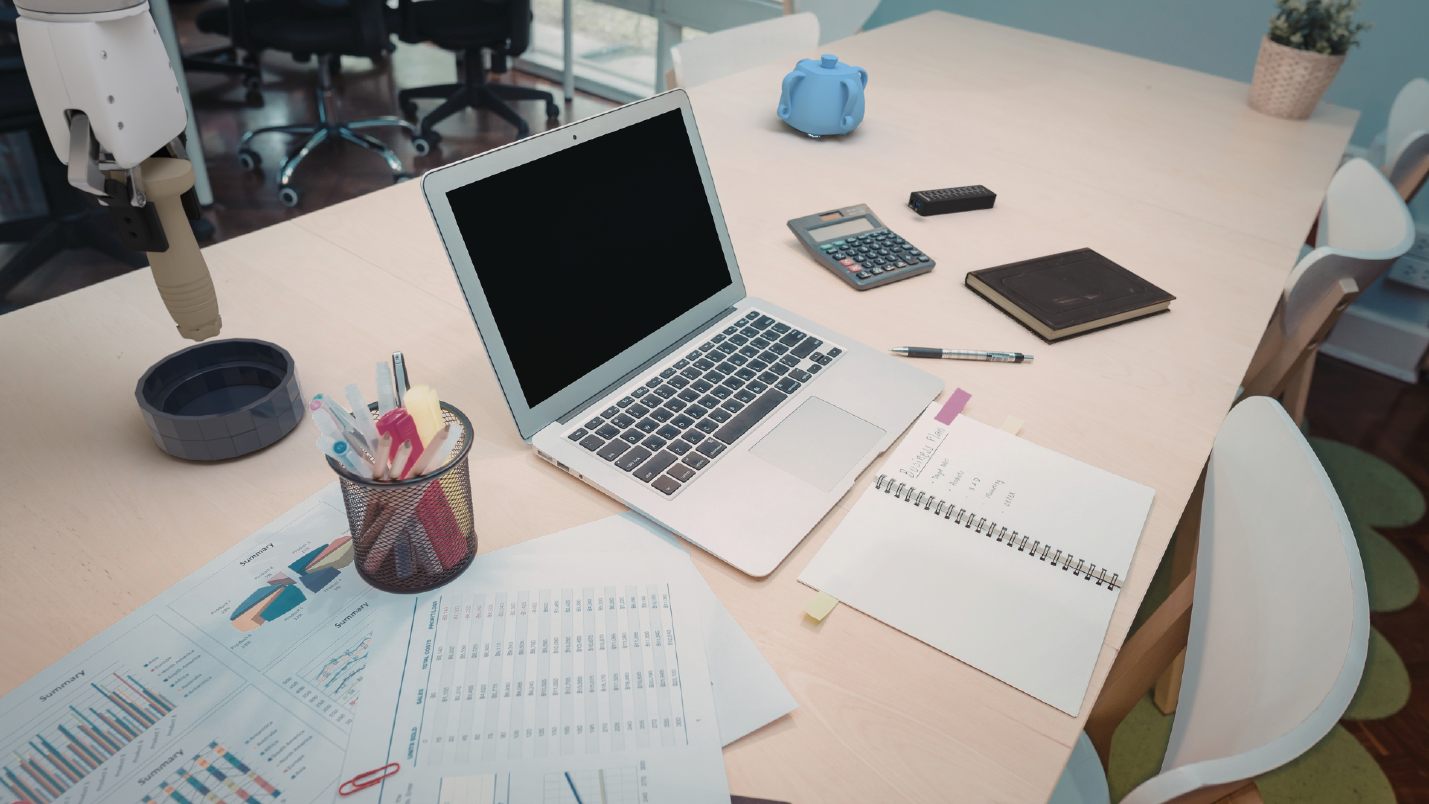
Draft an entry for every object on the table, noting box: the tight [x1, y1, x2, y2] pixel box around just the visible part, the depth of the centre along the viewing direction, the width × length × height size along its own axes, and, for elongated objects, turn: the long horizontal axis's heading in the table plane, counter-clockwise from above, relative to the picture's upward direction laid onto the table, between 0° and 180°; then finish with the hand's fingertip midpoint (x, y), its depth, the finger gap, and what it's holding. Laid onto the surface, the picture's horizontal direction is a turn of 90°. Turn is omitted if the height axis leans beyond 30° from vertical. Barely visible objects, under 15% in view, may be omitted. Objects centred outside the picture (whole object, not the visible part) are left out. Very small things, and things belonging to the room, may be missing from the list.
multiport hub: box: [907, 184, 998, 217], centre depth 132 cm, size 4×14×2 cm, turn 113°
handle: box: [110, 158, 223, 343], centre depth 67 cm, size 5×6×15 cm
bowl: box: [134, 337, 306, 461], centre depth 76 cm, size 13×13×5 cm
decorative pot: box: [776, 53, 869, 139], centre depth 155 cm, size 16×16×14 cm
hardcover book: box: [964, 246, 1178, 345], centre depth 110 cm, size 16×23×2 cm
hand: (165, 231), depth 66 cm, fingers closed on handle, 5 cm apart
